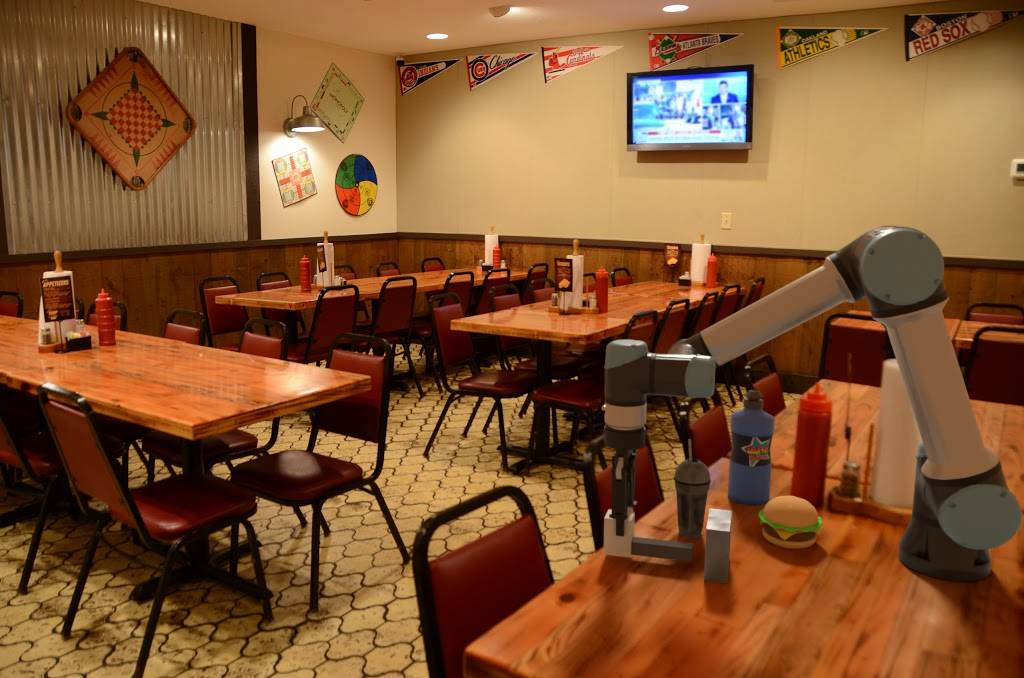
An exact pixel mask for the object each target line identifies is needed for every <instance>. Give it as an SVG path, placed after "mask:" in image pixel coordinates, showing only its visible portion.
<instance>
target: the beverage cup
mask: <svg viewBox="0 0 1024 678" xmlns="http://www.w3.org/2000/svg"><path fill="white" fill-rule="evenodd" d="M687 440H688V458H687V459H685V460H683V461H681V462H680V464H678V466H677V467H676V469H675V471H674V476H673V480H674V486H675V490H676V491H675V492H676V508H677V509H676V511H677V526H678V535H680V537H683V538H686V539H699V538H701V537H702V532H703V528H704V523H705V515H706V506H707V500H708V492H709V491H710V486H711V482H712V480H711V473H710V470H709V468H708V466H707V465H706V464H705V463H704V462H703V461H701V460H699V459H696V458H693V450H692V439H691V438H689V439H687Z"/></svg>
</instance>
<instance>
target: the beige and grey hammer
mask: <svg viewBox="0 0 1024 678" xmlns="http://www.w3.org/2000/svg"><path fill="white" fill-rule="evenodd" d="M610 514H612V509H610V508H609V509H608V510H607V512H606V513H605V516H604V518H603V522H604V523H603V554H605V555H609V556H610V555H612V556H618V557H619V556H620V557H628V558H629V557H630V558H631V557H632V556H637V557H639V556H640V557H647V558H655V559H656V558H657V559H658V558H659V559H665V560H673V561H682V562H691V563H692V562H693V556H694V543H691V542H683V541H675V540H666V539H665V540H664V539H658V538H647V537H641V536H635V525H636V524H635V522H636V520H635V518H636V517H635V516H636V514H635V511H633V512H629V511H628V513H627V515H628V517H629V525H628V552H621V551H613V519H612V518H609V515H610Z"/></svg>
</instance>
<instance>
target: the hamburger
mask: <svg viewBox="0 0 1024 678" xmlns="http://www.w3.org/2000/svg"><path fill="white" fill-rule="evenodd" d="M764 505H765V506H764V507H763V509H760V511H759V512H758V518H759V519H760V521H759V525H760V526H762V525H763V528H762V535H763V537H764V538H765V540H766V541H767V542H769V543H771V544H772V545H774V546H778V547H781V548H784V549H793V550H794V549H795V550H798V549H799V550H800V549H807V548H810V547H811V546H813V545H814V544H815V542H816V541H817V536H820V535H821V526H822V525H823V519H822V516H821V517H820V516H819V514H818V511H817V510H816V509H817V508H815V506H814V505H812V503H810V501H808V500H806V499H804V498H801V497H797V496H794V495H780V496H779V495H778V496H776V497H774V498H772V499H769V501H768V502H767V503H766V504H764ZM816 534H817V535H816Z"/></svg>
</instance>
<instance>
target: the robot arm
mask: <svg viewBox="0 0 1024 678" xmlns="http://www.w3.org/2000/svg"><path fill="white" fill-rule="evenodd" d="M944 260H945V259H944V256H943V254H942V252H941V249H940V248H939V245H937V243H936V242H935V241H934V240H933V239H932V237H930V236H929V235H927V234H926V233H924V232H923V231H921V230H918V229H916V228H913V227H909V226H897V225H881V226H877V227H874V228H872V229H869V230H868V231H866V232H864V233H863V234H861V235H860V236H858V237H857V238H856V239H854V240H852V241H851V242H850V243H848V244H846V245H845V246H843V247H841V248H840V249H838V250H836V251H834V252H833V253H831V254H829V255H828V256H826V257H825V260H824V262H823V264H822V266H820V267H817V268H816V269H813V270H812V271H810V272H808V273H806V274H804V275H802V276H801V277H799V278H798V279H797V278H796V279H795V280H794V281H792V282H790V283H788V284H785V285H784V286H782V287H780V288H779V289H777V290H775V291H773V292H772V293H770V294H768V295H766V296H764V297H762V298H760V299H759V300H756V301H755V302H753V303H751V304H749V305H747V306H746V307H744V308H741V309H740V310H738V311H736V312H735V313H732V314H731V315H729V316H726V317H725V318H723V319H721V320H719V321H717V322H716V323H714V324H712V325H710V326H708V327H706V328H704V329H703V330H701V331H700V332H697V333H696V334H694V335H692V336H691V337H688V338H685V339H684V338H682V339H680V340H678V341H677V342H675V343H673V344H672V345H671V347H670V348H669V349H668V351H667V353H655V352H654V353H653V352H649V349H648V345H647V343H646V342H645V341H643V340H635V339H616V340H612V341H610V342H609V343H608V344H607V345H606V348H605V361H604V362H605V364H604V405H601V411H603V412H604V411H605V412H604V422H605V425H604V427H603V428H604V429H603V443H604V445H605V446H606V447H607V448H609V449H613V450H614V451H615V452H614V456H612V457H611V458H612V459H611V466H612V467H611V470H610V471H611V510H612V514H610V515H609V518H612V519H613V551H621V552H628V525H629V517H628V515H627V513H628V511H629V512H634V509H633V508H634V507H637V506H638V505H637V504H638V500H635V497H636V495H635V488H636V487H635V485H636V478H635V477H636V462H637V454H636V453H637V450H640V449H643V448H644V446H645V445H646V427H645V424H647V395H651V396H666V397H679V398H680V397H682V398H691V399H696V398H697V399H699V398H700V399H701V398H703V399H704V398H705V399H706V398H711V397H712V396H713V395H714V393H715V382H716V369H717V368H719V367H721V366H723V365H724V364H726V363H728V362H731V361H732V360H734V359H736V358H738V357H741V356H742V355H744V354H746V353H747V352H750V351H751V350H754V349H756V348H757V347H759V346H761V345H764V344H765V343H767V342H769V341H771V340H773V339H775V338H777V337H778V336H780V335H783V334H785V333H786V332H789V331H790V330H792V329H794V328H796V327H798V326H800V325H802V324H803V323H806V322H807V321H810V320H811V319H814V318H816V317H817V316H819V315H822V314H823V313H826V312H827V311H829V310H831V309H833V308H835V307H837V306H838V305H840V304H842V303H844V302H845V303H847V302H848V303H851V304H855V303H857V302H858V301H860V300H863V299H865V298H866V302H867V305H868V308H869V311H870V314H871V317H872V319H873V320H875V321H876V322H878V323H879V324H883V325H884V326H885V328H886V331H887V334H888V337H889V342H890V344H891V346H892V350H893V353H894V356H895V359H896V362H897V363H896V364H897V366H898V370H899V373H900V375H901V378H902V379H901V380H902V382H903V385H904V388H905V392H906V394H907V397H908V400H909V403H910V407H911V410H912V413H913V416H914V420H915V422H916V426H917V429H918V432H919V435H920V439H921V441H922V442H920V444H919V445H918V448H917V454H916V456H915V459H916V464H915V465H916V466H915V476H914V489H913V497H912V498H913V499H912V513H911V518H910V521H909V523H908V525H907V526H906V529H905V530H904V532H903V534H902V537H901V538H900V540H899V543H898V553H897V557H898V558H899V561H900V562H901V563H903V564H904V565H905V566H906V567H908V568H910V569H911V570H913V571H916V572H918V573H921V574H924V575H925V576H926V575H927V576H929V577H933V578H938V579H941V580H945V581H946V580H947V581H955V582H956V581H957V582H974V581H975V582H976V581H980V580H983V579H985V578H987V577H989V575H990V574H991V567H992V566H991V564H992V558H991V555H990V551H989V550H991V549H995V548H998V547H1001V546H1003V545H1005V544H1007V543H1008V542H1009V541H1011V540H1012V539H1013V538H1014V536H1015V535H1016V534H1017V532H1019V530H1020V529H1021V525H1022V521H1023V512H1022V509H1021V505H1020V502H1019V500H1018V499H1017V497H1016V495H1015V494H1013V492H1011V491H1010V489H1009V486H1008V484H1007V483H1008V482H1007V480H1006V476H1005V473H1004V470H1003V467H1002V463H1001V461H1000V457H999V454H997V453H996V452H994V451H992V450H990V449H989V448H988V447H985V444H984V441H983V438H982V435H981V432H980V429H979V425H978V423H977V419H976V416H975V412H974V410H973V407H972V403H971V399H970V396H969V394H968V390H967V388H966V384H965V381H964V377H963V375H962V371H961V368H960V364H959V360H958V358H957V354H956V352H955V351H956V350H955V348H954V344H953V343H952V339H951V335H950V332H949V329H948V326H947V323H946V320H945V317H944V316H945V315H944V313H943V310H944V308H945V306H946V304H947V303H948V301H949V299H950V297H949V296H950V295H949V293H948V290H947V287H946V284H945V280H944V274H945V261H944Z"/></svg>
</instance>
